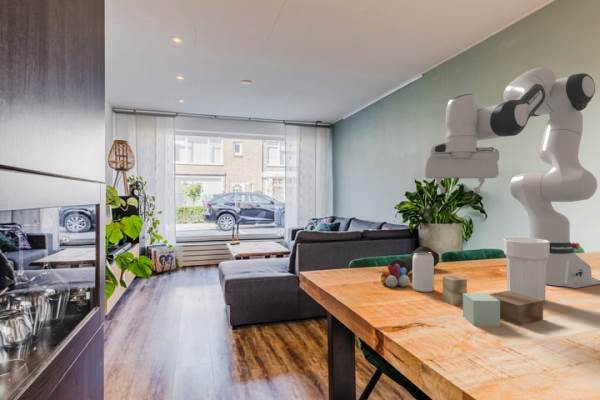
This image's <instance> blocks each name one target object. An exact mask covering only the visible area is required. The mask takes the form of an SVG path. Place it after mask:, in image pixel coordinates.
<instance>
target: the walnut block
mask: <svg viewBox="0 0 600 400" xmlns="http://www.w3.org/2000/svg"><path fill="white" fill-rule="evenodd" d="M488 294H489V295H491V296H493V297H494V298H496V299H498V300H499V301H500V321H501V320H502V321H504V322H507V323H510V324H513V325H515V326H518V327H519V326H523V325H528V324H530V323H531V324H532V323H535V321H536V322H540V321H543V320H544V303H543V300H539V299H536V298H532V297H528V296H525V295H521V294H517V293H513V292H510V291H508V290H506V291H505V290H504V291H500V292H499V291H498V292H494V293H488Z"/></svg>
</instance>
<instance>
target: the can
mask: <svg viewBox="0 0 600 400" xmlns="http://www.w3.org/2000/svg"><path fill="white" fill-rule="evenodd" d="M413 252H414V251H413ZM434 272H435V267H434V258H433V256H432V253H430V252H414V255H413V270H412V289H413V290H414V291H416V292H418V293H431V292H433V291H434V290H435V273H434Z"/></svg>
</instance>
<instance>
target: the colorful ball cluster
mask: <svg viewBox="0 0 600 400" xmlns="http://www.w3.org/2000/svg"><path fill="white" fill-rule="evenodd" d="M387 270H388V271H386V270H384V269H382V270H381V274H380V282H381V283H382V284H386V287H389V288H395V287H396V286H397V285H399V286H400V287H402V288H406V287H408V286H409V285H410V282H411V279H410V277H409V276H408V274H407V275H405V274H406V268H401V269H400V266H399V264H395V265H394V267H393V268H392V266H391V265H389V264H388V265H387Z"/></svg>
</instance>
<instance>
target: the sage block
mask: <svg viewBox="0 0 600 400" xmlns="http://www.w3.org/2000/svg"><path fill="white" fill-rule="evenodd" d="M489 294H490V293H485V292H481V293H479V292H478V293H477V292H475V293H473V292H472V293H471V292H468V293H463V304H462V317H463V318H464V317H465V318H466V319H465V318H464V319H465V320H466V321H468V322H469V323H470V324H471V325H472V326H474V327H475V326H476V327H500V326H501V319H500V301H499V300H498V299H496V298H494V297H493V296H491V295H489Z"/></svg>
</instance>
